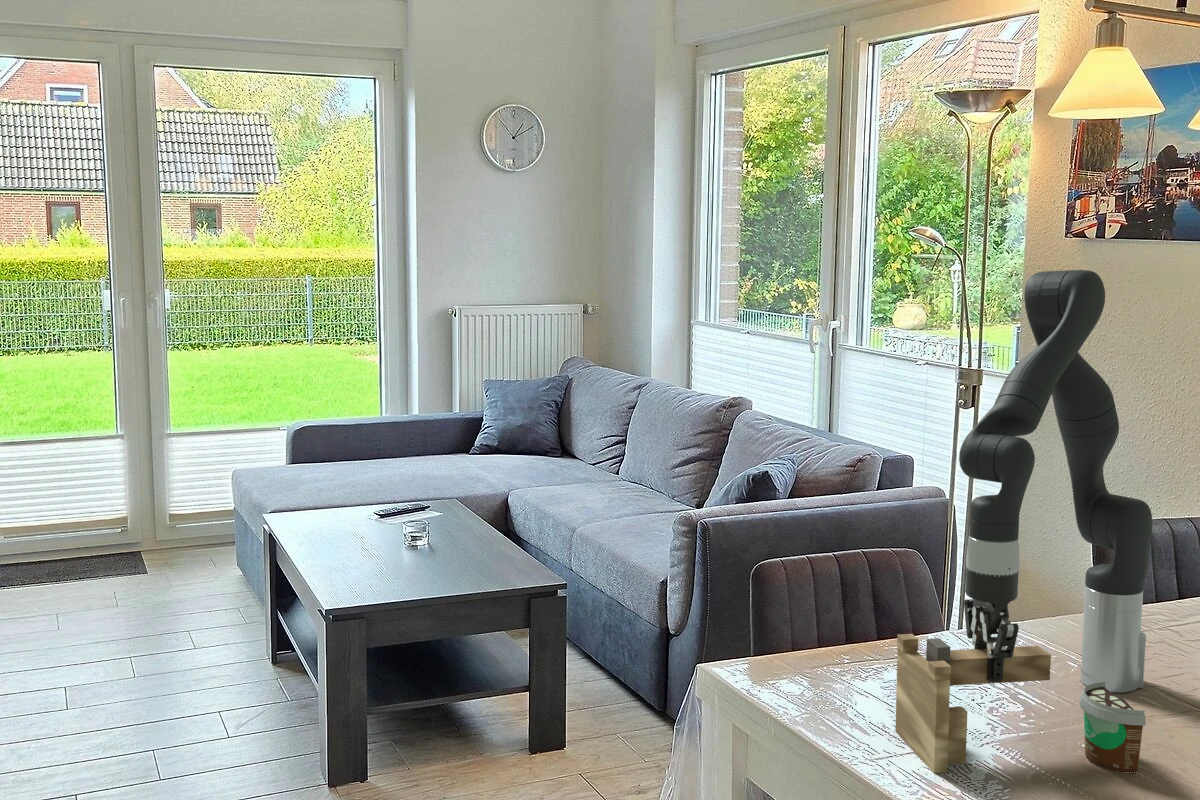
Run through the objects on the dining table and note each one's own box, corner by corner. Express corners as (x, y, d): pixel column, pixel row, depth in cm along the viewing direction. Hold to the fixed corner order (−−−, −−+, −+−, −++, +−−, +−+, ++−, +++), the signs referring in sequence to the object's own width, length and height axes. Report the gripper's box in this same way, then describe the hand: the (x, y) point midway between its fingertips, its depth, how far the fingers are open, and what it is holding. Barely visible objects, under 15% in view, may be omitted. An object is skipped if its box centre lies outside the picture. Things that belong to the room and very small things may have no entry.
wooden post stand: (931, 728, 191) (934, 631, 189) (973, 770, 176) (976, 665, 174) (894, 731, 190) (896, 633, 188) (932, 773, 176) (935, 668, 173)
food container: (1061, 743, 185) (1064, 681, 184) (1100, 742, 186) (1103, 679, 184) (1101, 779, 173) (1105, 713, 172) (1142, 777, 174) (1146, 711, 172)
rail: (1036, 670, 186) (1038, 633, 185) (1049, 680, 182) (1051, 641, 181) (925, 676, 184) (926, 638, 183) (936, 686, 180) (937, 647, 179)
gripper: (1039, 578, 174) (1033, 692, 176) (994, 552, 188) (990, 658, 190) (989, 580, 173) (985, 694, 175) (948, 554, 187) (944, 660, 189)
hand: (987, 675), depth 183 cm, fingers closed on rail, 4 cm apart
